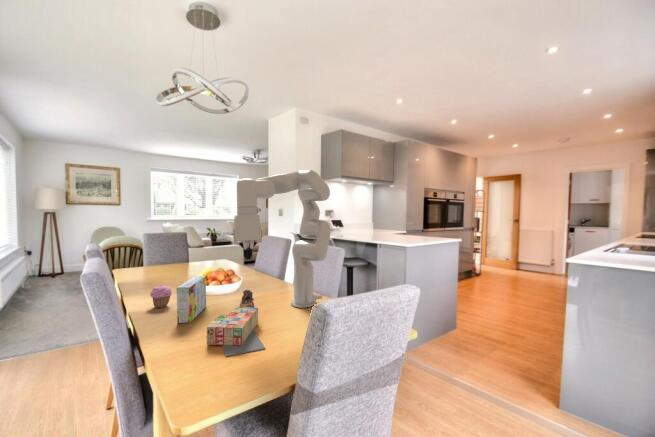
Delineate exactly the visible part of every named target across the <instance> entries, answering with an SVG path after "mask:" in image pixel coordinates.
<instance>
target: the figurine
mask: <svg viewBox="0 0 655 437" xmlns="http://www.w3.org/2000/svg"><path fill="white" fill-rule="evenodd" d="M242 294H243V295H242V297H241V301H240V303H239V307H238V308H244V307H246V308H256V307H255V303H254V301H255V298H253V294H254V293H253V292H252V291H251V290H250V289H245V290H243V291H242Z"/></svg>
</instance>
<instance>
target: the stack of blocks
mask: <svg viewBox="0 0 655 437" xmlns="http://www.w3.org/2000/svg"><path fill="white" fill-rule="evenodd" d="M258 323H259V307H255V308H246V307H244V308H239V307H235V308H234V309H233V310H231V312H230V313H229V314H219V316H217V317H216V318H215V319H214V320H212V321H211V322H210V323H209V324H208V325H207V326H206V345H208V346H210V345H211V346H222V345H233V346H242V345H243V343H244V342H245V340H246V339H247V337H248V336H249V334H250V333H251V332H252V330H253V329H254V330H255V328H256V326H257V324H258Z"/></svg>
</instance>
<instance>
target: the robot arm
mask: <svg viewBox="0 0 655 437" xmlns="http://www.w3.org/2000/svg"><path fill="white" fill-rule="evenodd" d="M293 191H297V195H298V197H299V198H298V199H299V200H300V201H301V205H302V208H303V209H302V210H303V213H302V217H301V222H300V226H299V227H300V228H299V235H300V236H301V238H303V240H301V239H300V240H297V241H295V242H294V243H293V244H292V247H291V248H292V258H293V268H294V269H293V270H294V271H293V300H292V299H291V301H290V305H291V306H292V307H294V308H300V309H302V308H303V309H306V308H307V307H308V308H312V307H314V306H313V305H314V304H316V305H317V300H322V299H323V295H322V294H320V295H318V294H314V266H313V263H312V262H322V261H324V260H325V259H326V257H327V254H328V249H329V244H330V239H331V233H332V232H331V230H332V229H331V225H330V223H329V222H328V221H327V220H324V219H320V215H321V210H320V207H319V206H318V204H317V202H324V201H327V200H329V197H330V196H331V190H330V187H329V185H328V184H327V183H326V182H325V180H324V179H323V177H322V176H320V175H319V174H318V173H317V172H316V171H315V170H313V169H306V170H295V171H290V172H286V173H281V174H274V175H270V176H266V177H260V178H256V179H252V178H242V179H241V178H239V179H238V180H237V182H236V215H234V219H233V229H232V230H233V231H232V237H233V242H232V243H233V245H236V246H240V247H241V248H242V249H243V258H244V259H245V260H247V261H248V260H251V259H252V257H253V249H254V247H255V246H256V245H259V244H262V242H263V241H262V224H261V218H260V214H258V213H261V212H262V208H259V207H258V200H265V199H271V198H272V197H274V196H275V195H280V194H281V195H282V194H287V193H289V192H293ZM304 239H308V240H304ZM309 239H310V240H309ZM311 239H312V240H311ZM313 239H314V240H315V241H313ZM247 242H248V246H247ZM311 306H312V307H311Z"/></svg>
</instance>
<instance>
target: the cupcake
mask: <svg viewBox="0 0 655 437" xmlns="http://www.w3.org/2000/svg"><path fill="white" fill-rule="evenodd" d="M149 294H150V295H149V296H150V298H152V303H153V307H154V308H158V309H162V308H165V307H167V305H168V304H169V302H170V298H171V296H172V289H171V287H170V286H168V285H158V286H155V287H153V288H152V289H151V291H150V293H149Z"/></svg>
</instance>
